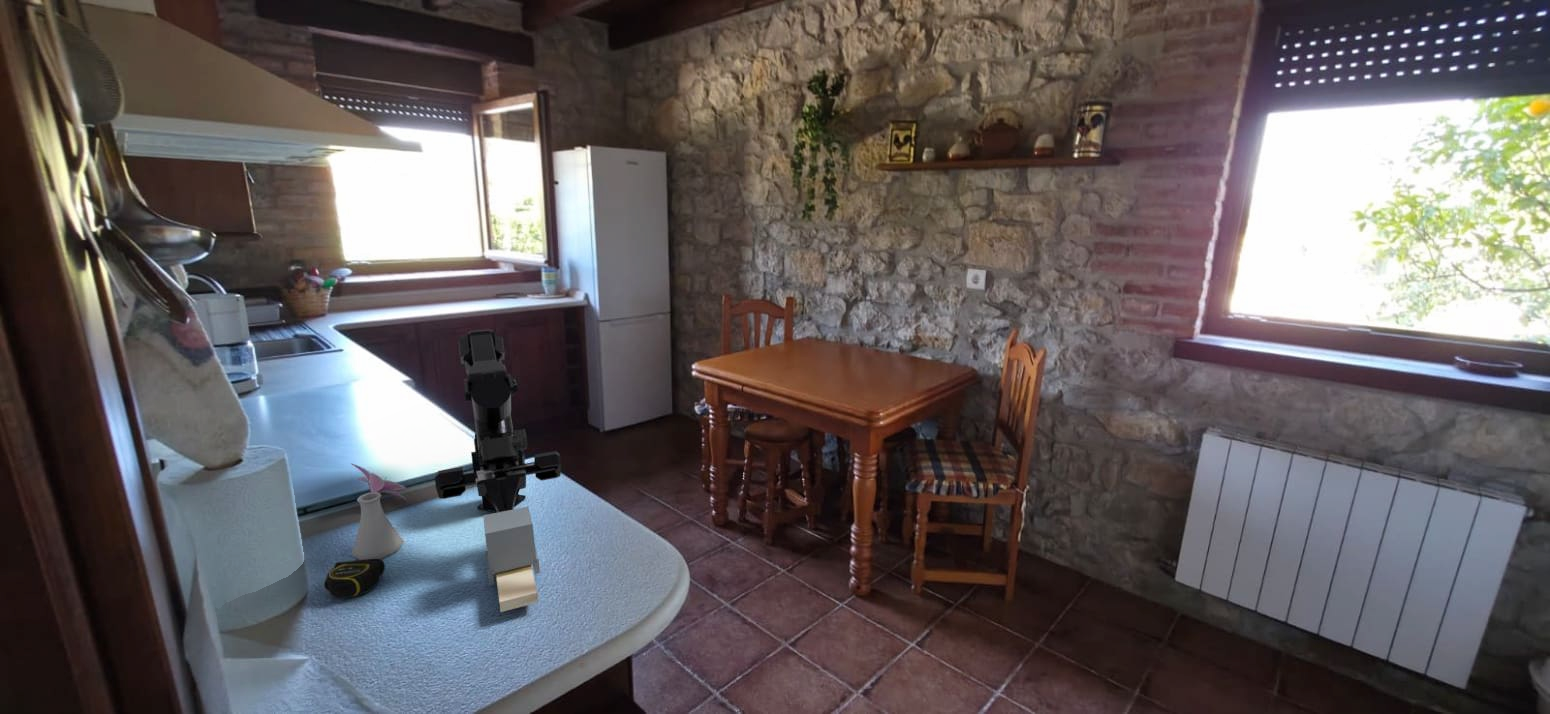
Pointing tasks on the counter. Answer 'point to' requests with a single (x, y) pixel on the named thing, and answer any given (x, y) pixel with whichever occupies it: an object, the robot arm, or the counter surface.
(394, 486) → the lily
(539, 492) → the counter surface
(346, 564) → the tape measure
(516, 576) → the beam
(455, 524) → the counter surface
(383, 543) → the flask
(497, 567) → the block
